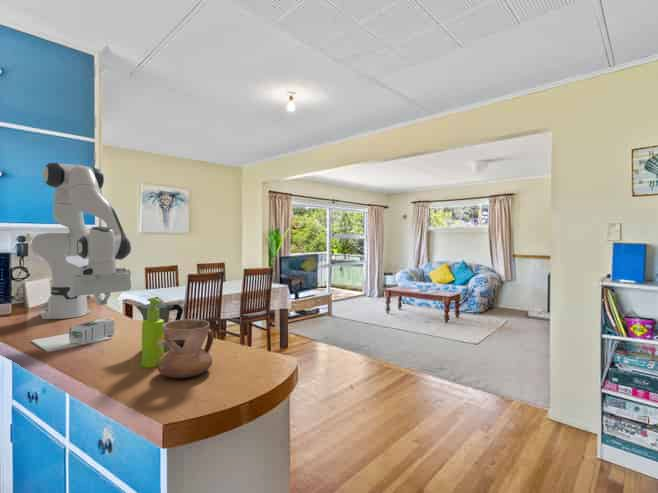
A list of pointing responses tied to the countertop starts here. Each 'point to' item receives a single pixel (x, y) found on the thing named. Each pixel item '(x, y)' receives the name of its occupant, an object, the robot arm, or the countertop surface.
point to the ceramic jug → (185, 348)
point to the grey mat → (60, 342)
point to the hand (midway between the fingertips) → (102, 304)
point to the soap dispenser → (152, 336)
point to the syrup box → (91, 331)
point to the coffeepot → (162, 313)
